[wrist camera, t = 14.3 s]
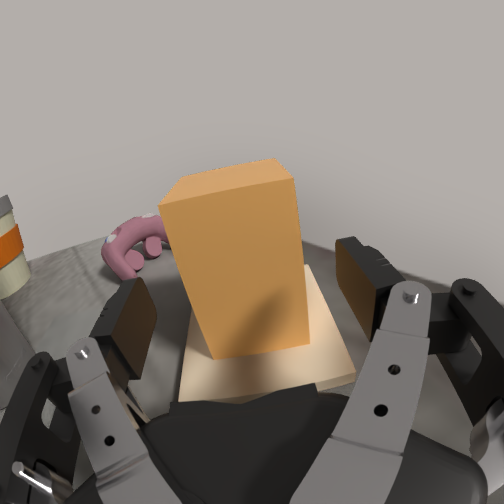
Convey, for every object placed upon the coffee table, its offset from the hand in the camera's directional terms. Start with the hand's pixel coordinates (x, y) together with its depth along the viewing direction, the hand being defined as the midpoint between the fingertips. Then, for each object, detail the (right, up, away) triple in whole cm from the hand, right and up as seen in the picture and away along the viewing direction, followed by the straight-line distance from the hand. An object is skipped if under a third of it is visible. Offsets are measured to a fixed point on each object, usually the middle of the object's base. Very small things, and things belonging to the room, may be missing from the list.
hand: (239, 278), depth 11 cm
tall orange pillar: (+1, -4, +8) cm, 9 cm away
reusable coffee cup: (-42, -5, +24) cm, 49 cm away
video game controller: (-12, -1, +21) cm, 24 cm away
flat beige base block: (+1, -5, +8) cm, 9 cm away
